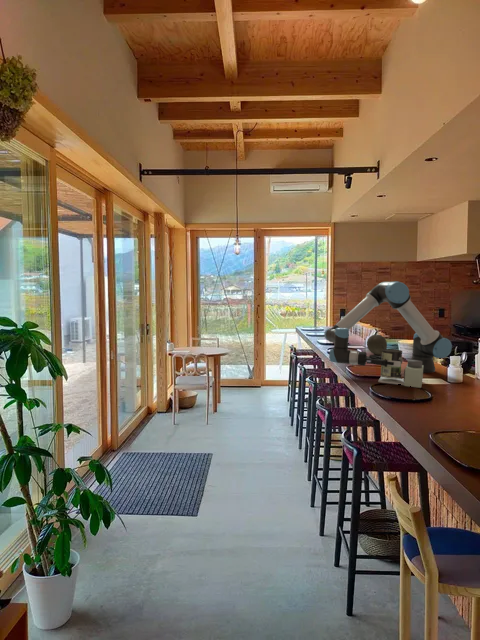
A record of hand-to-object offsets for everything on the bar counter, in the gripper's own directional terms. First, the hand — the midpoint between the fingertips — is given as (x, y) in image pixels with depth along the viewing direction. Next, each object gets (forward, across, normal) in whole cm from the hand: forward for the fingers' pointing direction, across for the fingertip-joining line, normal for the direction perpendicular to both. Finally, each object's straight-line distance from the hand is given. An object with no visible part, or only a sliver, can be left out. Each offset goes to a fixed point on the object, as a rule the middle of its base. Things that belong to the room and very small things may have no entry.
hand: (401, 362), depth 235 cm
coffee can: (-5, 0, -8) cm, 10 cm away
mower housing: (0, 0, -10) cm, 10 cm away
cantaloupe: (-23, -88, -11) cm, 92 cm away
